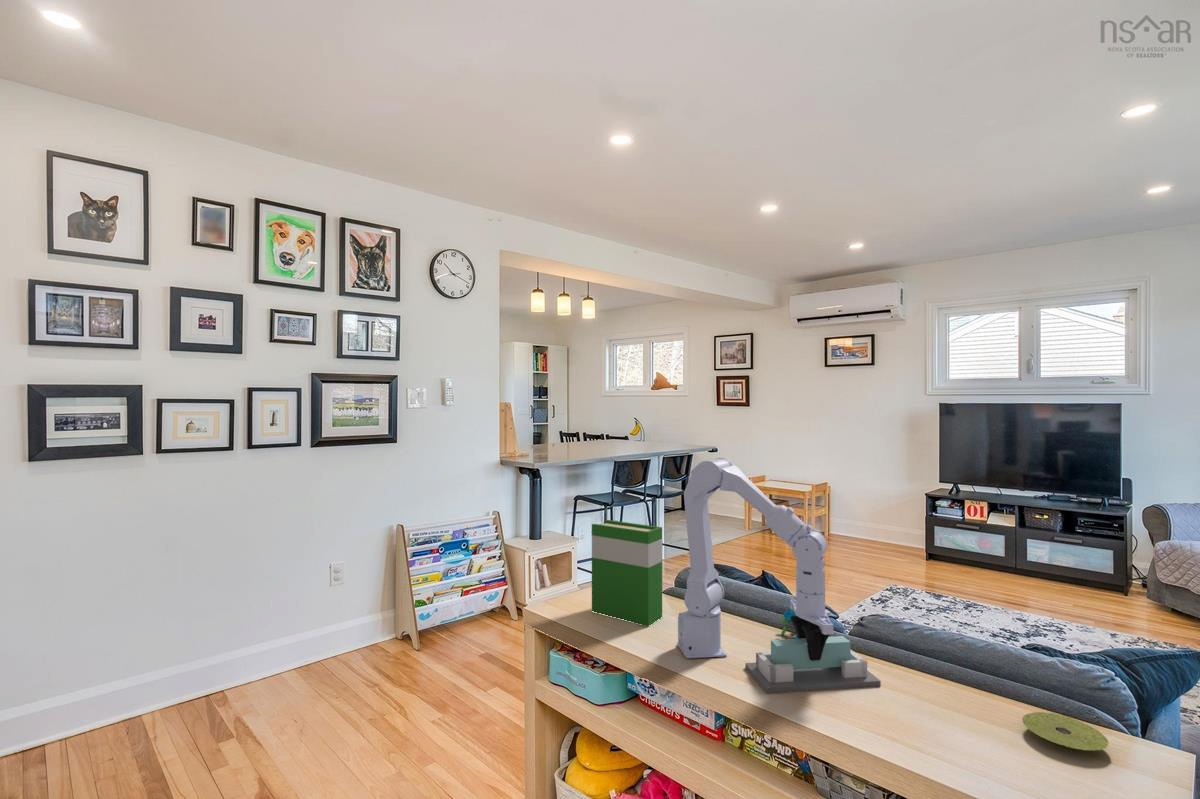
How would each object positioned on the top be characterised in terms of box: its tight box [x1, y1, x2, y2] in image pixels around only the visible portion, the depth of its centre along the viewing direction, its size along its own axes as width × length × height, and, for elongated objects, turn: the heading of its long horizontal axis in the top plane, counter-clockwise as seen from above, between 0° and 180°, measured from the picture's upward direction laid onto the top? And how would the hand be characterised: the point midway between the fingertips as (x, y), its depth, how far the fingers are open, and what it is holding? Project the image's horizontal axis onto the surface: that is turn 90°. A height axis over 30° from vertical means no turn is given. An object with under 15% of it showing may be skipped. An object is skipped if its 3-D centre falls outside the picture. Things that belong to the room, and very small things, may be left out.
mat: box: [1021, 711, 1109, 751], centre depth 96 cm, size 11×11×2 cm
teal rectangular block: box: [770, 635, 852, 670], centre depth 119 cm, size 16×3×5 cm, turn 97°
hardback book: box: [591, 519, 663, 627], centre depth 154 cm, size 18×7×24 cm, turn 56°
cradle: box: [744, 649, 882, 694], centre depth 119 cm, size 24×11×4 cm, turn 97°
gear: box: [780, 609, 798, 639], centre depth 138 cm, size 11×6×10 cm
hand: (810, 655), depth 119 cm, fingers closed on teal rectangular block, 3 cm apart
